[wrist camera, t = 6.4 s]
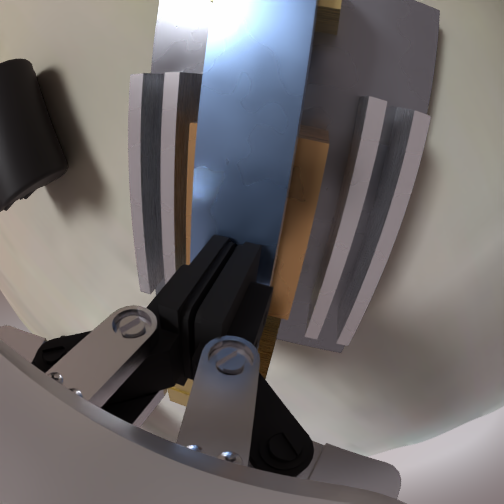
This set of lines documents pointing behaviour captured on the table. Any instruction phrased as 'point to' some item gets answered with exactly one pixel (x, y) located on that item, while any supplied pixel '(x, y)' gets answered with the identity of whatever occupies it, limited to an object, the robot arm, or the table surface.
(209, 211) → the strap
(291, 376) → the table surface
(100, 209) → the table surface
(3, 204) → the end cap
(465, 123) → the table surface
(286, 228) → the block
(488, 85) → the table surface
